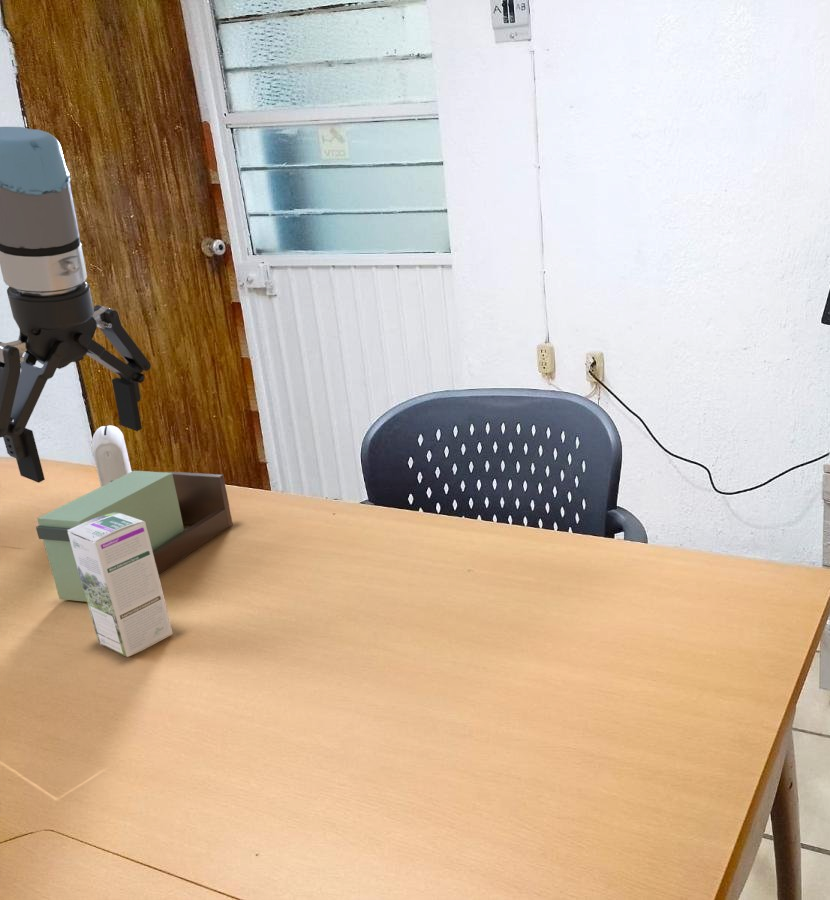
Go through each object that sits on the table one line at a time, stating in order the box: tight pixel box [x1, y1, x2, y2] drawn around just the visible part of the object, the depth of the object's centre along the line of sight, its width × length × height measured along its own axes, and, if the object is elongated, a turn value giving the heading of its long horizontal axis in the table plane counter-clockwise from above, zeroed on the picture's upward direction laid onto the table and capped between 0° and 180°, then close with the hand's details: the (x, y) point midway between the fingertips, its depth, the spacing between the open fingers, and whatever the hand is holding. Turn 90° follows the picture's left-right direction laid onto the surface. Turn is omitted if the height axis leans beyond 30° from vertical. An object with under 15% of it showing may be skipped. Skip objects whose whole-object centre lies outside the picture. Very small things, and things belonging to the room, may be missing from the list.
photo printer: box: [91, 424, 133, 487], centre depth 130 cm, size 10×4×12 cm, turn 28°
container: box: [35, 470, 185, 603], centre depth 107 cm, size 6×16×11 cm, turn 168°
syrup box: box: [67, 512, 173, 658], centre depth 91 cm, size 6×6×14 cm
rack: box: [153, 471, 234, 576], centre depth 115 cm, size 9×17×8 cm, turn 168°
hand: (84, 451), depth 100 cm, fingers open, 13 cm apart
